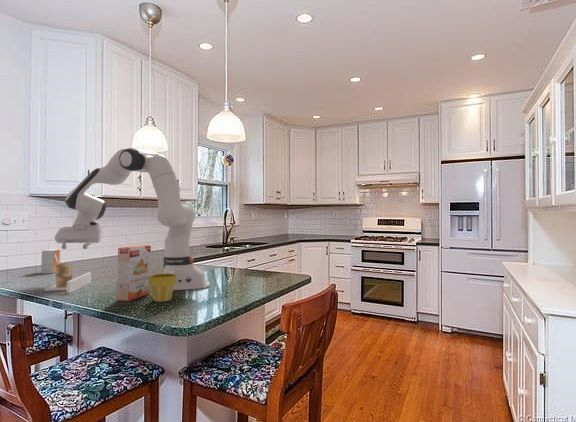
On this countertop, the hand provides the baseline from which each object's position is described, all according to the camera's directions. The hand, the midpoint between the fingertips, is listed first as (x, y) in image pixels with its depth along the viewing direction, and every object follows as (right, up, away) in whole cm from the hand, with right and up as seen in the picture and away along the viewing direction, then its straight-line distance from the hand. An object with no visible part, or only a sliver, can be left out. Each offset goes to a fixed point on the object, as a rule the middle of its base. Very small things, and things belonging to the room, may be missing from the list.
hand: (74, 248), depth 169 cm
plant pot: (+54, -17, -31) cm, 65 cm away
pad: (+2, -17, -11) cm, 20 cm away
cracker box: (+42, -17, -28) cm, 53 cm away
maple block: (+2, -16, -10) cm, 20 cm away
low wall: (+9, -17, -10) cm, 22 cm away
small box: (-32, -17, +30) cm, 47 cm away
